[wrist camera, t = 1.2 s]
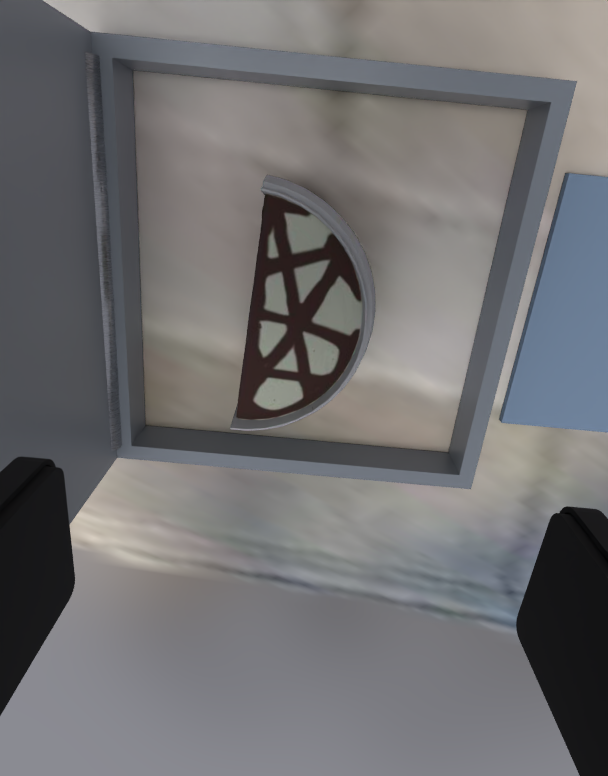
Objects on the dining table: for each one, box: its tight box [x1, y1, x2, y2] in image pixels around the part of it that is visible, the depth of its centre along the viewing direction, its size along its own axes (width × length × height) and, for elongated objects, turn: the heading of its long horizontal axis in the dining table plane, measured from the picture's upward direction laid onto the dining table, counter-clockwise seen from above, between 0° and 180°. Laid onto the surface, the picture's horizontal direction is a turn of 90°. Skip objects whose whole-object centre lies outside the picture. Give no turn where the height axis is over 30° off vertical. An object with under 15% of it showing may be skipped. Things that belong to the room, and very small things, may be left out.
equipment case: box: [0, 0, 577, 525], centre depth 23 cm, size 24×25×20 cm
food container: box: [230, 175, 375, 431], centre depth 27 cm, size 12×6×10 cm, turn 170°
